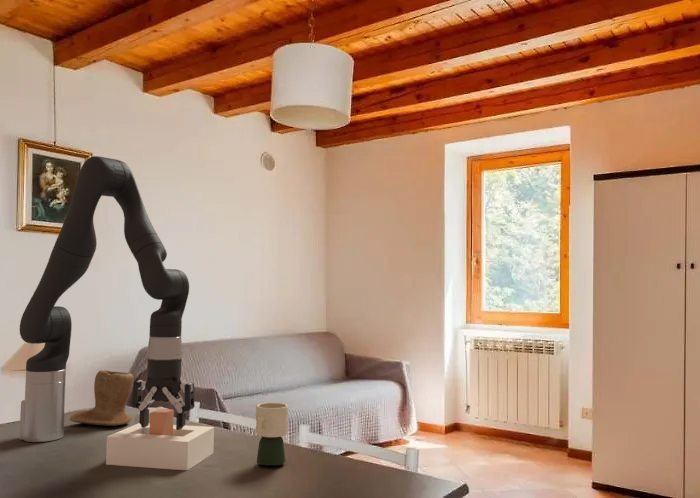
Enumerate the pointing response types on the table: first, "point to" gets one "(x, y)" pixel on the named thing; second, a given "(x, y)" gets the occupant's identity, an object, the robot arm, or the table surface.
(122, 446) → the well block
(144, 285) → the robot arm
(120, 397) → the brown boot-shaped piece
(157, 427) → the orange block
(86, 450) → the table surface
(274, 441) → the character mug
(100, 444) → the table surface
